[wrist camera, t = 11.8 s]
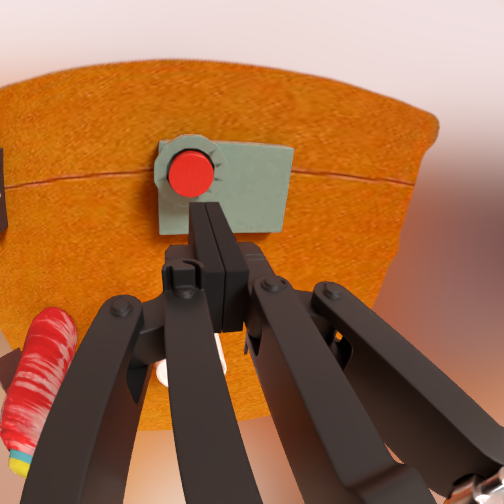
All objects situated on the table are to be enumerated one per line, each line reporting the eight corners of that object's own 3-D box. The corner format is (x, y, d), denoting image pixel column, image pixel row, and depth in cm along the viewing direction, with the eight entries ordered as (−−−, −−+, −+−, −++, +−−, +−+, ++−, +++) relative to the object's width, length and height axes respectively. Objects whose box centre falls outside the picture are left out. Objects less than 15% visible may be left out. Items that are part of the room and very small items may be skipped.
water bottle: (24, 331, 32) (-11, 467, 11) (14, 292, 29) (-43, 441, 8) (88, 343, 37) (74, 496, 16) (83, 305, 33) (53, 480, 12)
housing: (157, 226, 31) (155, 243, 28) (157, 132, 26) (154, 136, 22) (275, 224, 35) (286, 239, 32) (287, 138, 30) (302, 143, 26)
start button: (169, 191, 26) (168, 197, 24) (169, 150, 24) (169, 154, 22) (209, 190, 27) (212, 197, 25) (212, 151, 25) (215, 154, 23)
